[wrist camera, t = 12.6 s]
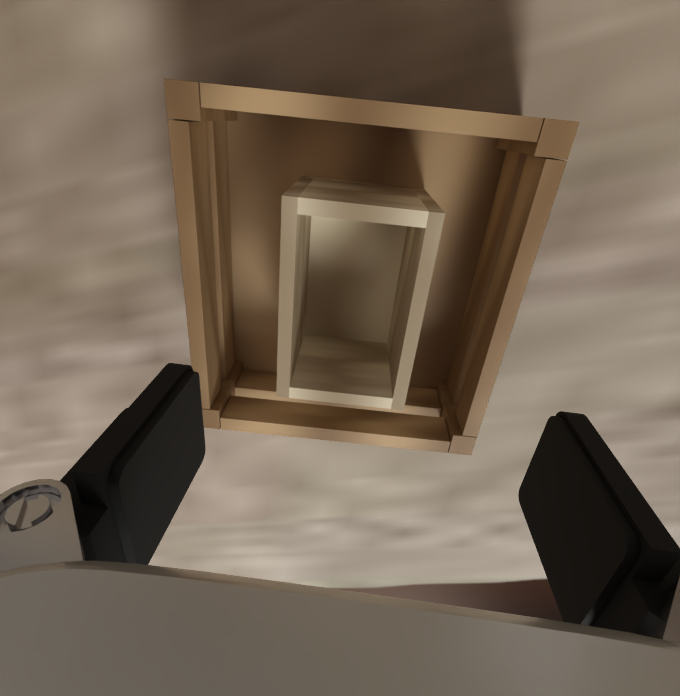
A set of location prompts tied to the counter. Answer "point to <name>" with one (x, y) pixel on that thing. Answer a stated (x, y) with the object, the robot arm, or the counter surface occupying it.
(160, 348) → the counter surface
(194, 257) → the crate
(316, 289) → the small crate
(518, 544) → the counter surface
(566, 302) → the counter surface
